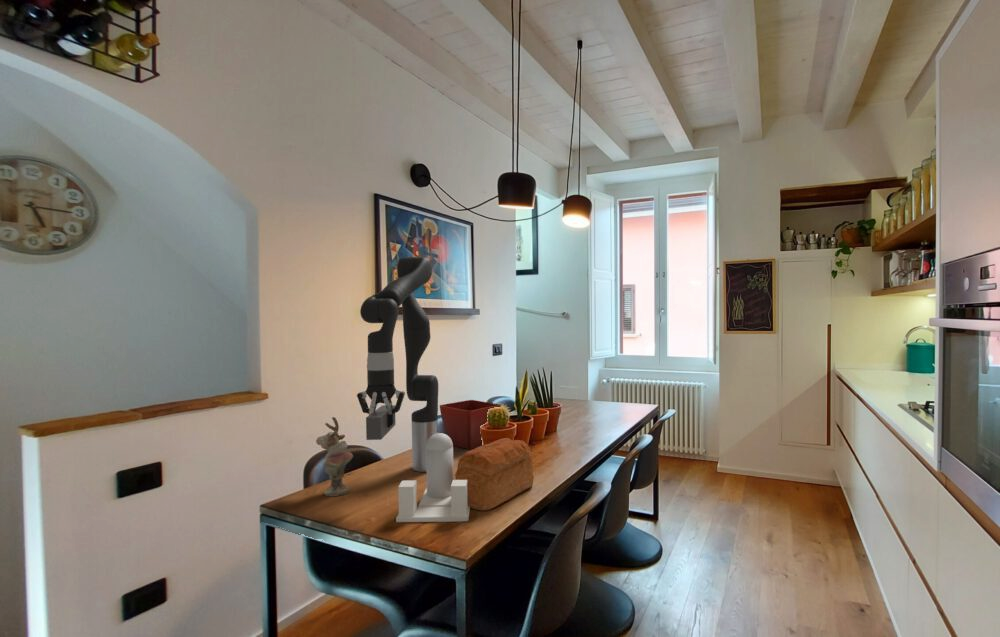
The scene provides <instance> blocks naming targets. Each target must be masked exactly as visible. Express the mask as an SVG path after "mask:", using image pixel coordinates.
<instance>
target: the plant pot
mask: <svg viewBox="0 0 1000 637" xmlns="http://www.w3.org/2000/svg"><path fill="white" fill-rule="evenodd" d="M494 407H502V405H501V404H499V403H493V402H488V401H481V400H476V399H475V400H474V399H468V400H467V399H466V400H462V401H456V402H455V401H454V402H449V403H445V404H440V405H439V410H440V417H441V420H442V425H443V428H444V431H445V434H446V435H448V436H449V437H450V438H451V440H452V443H453V446H455V447H458V448H462V449H465V448H466V449H467V450H473V448H474V449H475V448H478V447H480V446H482V440H481V434H480V426H481V425H483V424H485V423H486V422H487V412H488V409H490V408H494Z"/></svg>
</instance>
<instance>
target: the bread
mask: <svg viewBox="0 0 1000 637" xmlns="http://www.w3.org/2000/svg"><path fill="white" fill-rule="evenodd" d="M457 461H458V462H457V469H456V471H455V473H454V476H455V480H467V491H468V507H470V509H474V510H477V511H489V510H492V509H494V508H496V507H498V506H499V505H501V504H503V503H504V502H507V501H509V500H511V499H512V498H514V497H515V496H517V495H518V494H521V493H522V492H524V491H526V490H527V489H530V488H531V487H532V486H533V484H534V479H535V477H534V476H535V475H534V473H533V472H534V468H533V467H534V466H533V465H534V462H533V459H532V455H531V450H530V446H529V445H528V444H527V443H526V442H525V440H519V439H514V440H512V439H511V438H508V437H504V438H500V439H497V440H494V441H492V442H491V443H489V444H485V445H482V446H480V447H477V448H474V449H470V450H468V451H467V452H465V453H464V454H462V455H461V456H460V457H459V459H458V460H457Z"/></svg>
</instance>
